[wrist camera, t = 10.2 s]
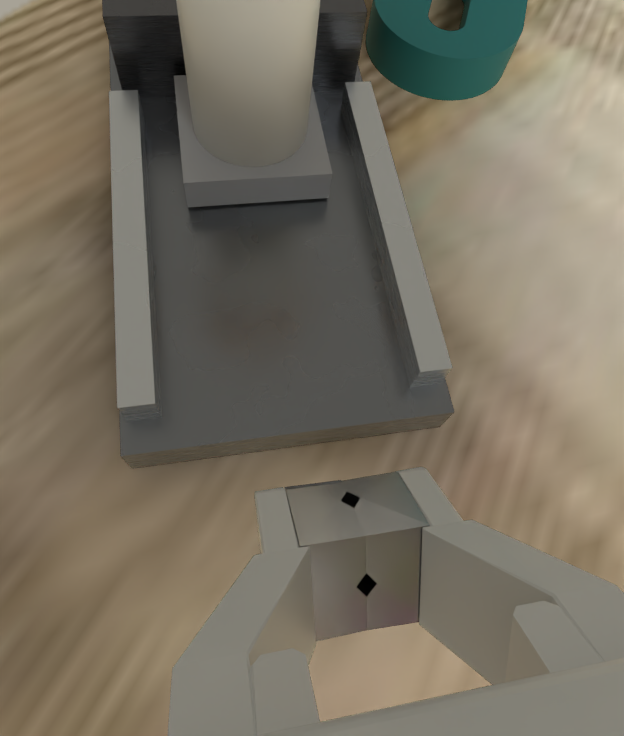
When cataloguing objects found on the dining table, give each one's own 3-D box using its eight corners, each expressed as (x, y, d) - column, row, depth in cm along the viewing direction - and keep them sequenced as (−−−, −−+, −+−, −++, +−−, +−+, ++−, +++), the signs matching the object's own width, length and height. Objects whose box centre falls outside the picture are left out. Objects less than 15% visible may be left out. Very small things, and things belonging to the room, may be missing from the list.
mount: (439, 426, 18) (495, 371, 14) (131, 468, 17) (88, 421, 13) (338, 41, 26) (354, -73, 21) (116, 46, 24) (86, -75, 20)
